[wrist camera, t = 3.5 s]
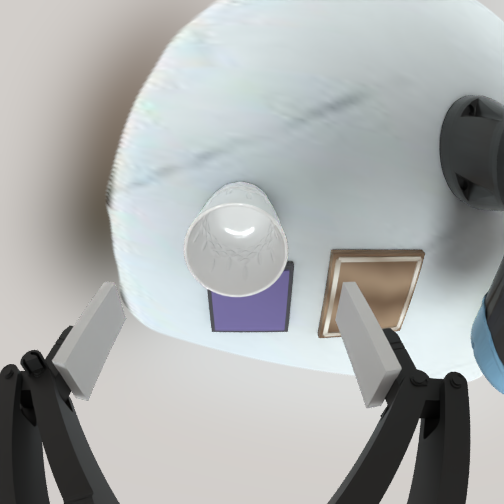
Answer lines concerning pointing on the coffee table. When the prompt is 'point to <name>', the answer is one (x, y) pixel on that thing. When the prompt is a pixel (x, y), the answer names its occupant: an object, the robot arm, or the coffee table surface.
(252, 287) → the white cup
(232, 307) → the ink pad
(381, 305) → the brown square coaster
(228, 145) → the coffee table surface
